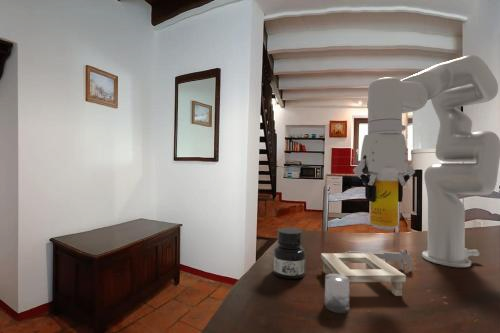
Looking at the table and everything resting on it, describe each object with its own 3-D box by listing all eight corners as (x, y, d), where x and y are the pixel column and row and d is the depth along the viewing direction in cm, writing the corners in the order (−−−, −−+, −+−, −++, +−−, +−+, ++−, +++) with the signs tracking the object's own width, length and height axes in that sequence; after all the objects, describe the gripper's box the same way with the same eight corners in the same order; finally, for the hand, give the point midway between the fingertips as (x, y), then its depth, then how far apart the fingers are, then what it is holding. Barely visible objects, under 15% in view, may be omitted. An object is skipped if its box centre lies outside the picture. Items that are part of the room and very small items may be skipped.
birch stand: (371, 270, 73) (371, 253, 73) (405, 296, 58) (405, 275, 58) (320, 270, 72) (321, 253, 72) (341, 297, 57) (341, 275, 57)
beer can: (365, 224, 65) (365, 167, 65) (387, 224, 65) (387, 167, 66) (380, 230, 59) (380, 166, 59) (403, 229, 59) (404, 167, 60)
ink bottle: (269, 277, 67) (269, 233, 67) (275, 265, 76) (275, 226, 76) (306, 282, 65) (306, 236, 65) (307, 269, 73) (307, 228, 73)
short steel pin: (343, 300, 56) (343, 273, 56) (353, 312, 51) (353, 283, 51) (321, 300, 56) (321, 273, 56) (329, 313, 51) (329, 283, 51)
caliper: (411, 272, 72) (411, 250, 72) (410, 273, 72) (410, 251, 72) (344, 254, 87) (344, 236, 87) (342, 254, 86) (343, 236, 87)
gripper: (406, 132, 67) (406, 199, 67) (344, 130, 66) (343, 199, 65) (428, 127, 59) (428, 203, 59) (358, 126, 58) (357, 203, 58)
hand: (383, 200), depth 62 cm, fingers closed on beer can, 6 cm apart
